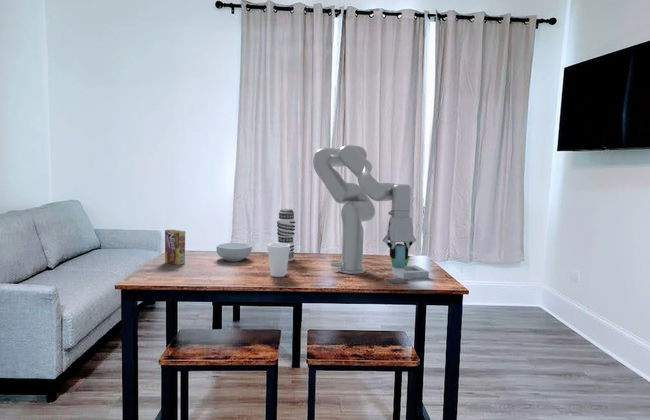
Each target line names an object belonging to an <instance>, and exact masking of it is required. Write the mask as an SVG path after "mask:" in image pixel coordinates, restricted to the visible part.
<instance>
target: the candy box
mask: <svg viewBox="0 0 650 420" xmlns="http://www.w3.org/2000/svg"><path fill="white" fill-rule="evenodd" d="M164 263H166V264H170V265H171V264H172V265H177V266H180V265H184V264H186V231H185V230H180V229H179V230H178V229H170V228H169V229H166V230H164Z"/></svg>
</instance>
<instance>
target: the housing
mask: <svg viewBox="0 0 650 420" xmlns="http://www.w3.org/2000/svg"><path fill="white" fill-rule="evenodd" d="M391 274H393V275H394V276H396V277H397V278H402V279H403V280H405V281H407V280H409V281H410V280H424V279H425V280H426V279H427V280H428V279H429V277H430V276H429V275H430V271H428V270H426V269H424V268H422V267H420V266H417V265H407V266H405V267H404V268H395V267H393V266H392V265H391Z"/></svg>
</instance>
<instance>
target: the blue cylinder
mask: <svg viewBox="0 0 650 420" xmlns="http://www.w3.org/2000/svg"><path fill="white" fill-rule="evenodd" d="M394 249H395V259H393V267H395V268H404V267H405V245H404V243H401V242H396V244H395V247H394Z"/></svg>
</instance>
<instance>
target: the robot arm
mask: <svg viewBox="0 0 650 420" xmlns="http://www.w3.org/2000/svg"><path fill="white" fill-rule="evenodd" d="M367 156H368V155H367V151H366V150H365V148H364V147H363V146H360V145H353V144H352V145H351V144H346V145H344V146H342V147H340V148H332V147H323V148H319V149H318V150H316V151H315V153H314V155H313V160H312V162H313V163H312V165H313V169H314V172H315V174H316V176H318V177H319V179H320V180H321V182H322V183H323V185H324V186H325V188H326V189H327V191H328V192H329V194H330V195H331V197H332V198H333V200H334V201H335V202H336V203H337V204H341V205H342V204H343V206H342V207H341V211H340V216H341V223H342V233H341V234H342V238H341V239H342V244H341V259H339V261H337V262H332V261H331V263H330V267H331V268H337V271H338V272H339V273H342V274H349V275H359V274H363V273H364V274H365V273H366V268H365V267H363V258H364V257H363V255H364V238H365V237H364V233H365V232H364V227H363V222H368V221H371V220H372V219H374V217H375V214H376V208H375V206H374V204H373V202H372V200H373V201H375V202H388V201H389V202H390V201H391V210H390V211H388V215H389V216H390V217H389V220H388V224H387V233H386V235H385V237H384V238H383V239H382V242H383V243H385V244H386V246H388V248H389V256H390V257H389V258H390V259H391V258H393V259H395V249H394V247H395V244H397V243H402V244H403V245H405V258H408V256H409V249H410V248H411V247H412V245H413V244H414V243H416V241H417V238H416V237H415V236H414V225H413V223H414V222H413V218H412V217H411V202H412V201H411V200H412V199H411V198H412V196H411V195H412V187H411V186H410V184H406V183H405V184H404V183H403V184H402V183H399V184H398V183H392V182H379V181H377V179H376V178H374V177H373V176H372V174H371V172H372V169H373V165H372V163H371V162H370V161H369V160H368V159H367ZM334 167H335V168H336V167H337V168H338V167H339V168H340V167H346V168H347V169H348V170H350V172H351V173H352V174H353V175H354V176H355V177H356V179H357V182H358V183H355V182H346V181H345V180H344V179H343V177H342V175H341V174H340V173H339V172H338V171H337V170H336V169H335V168H334Z"/></svg>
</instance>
